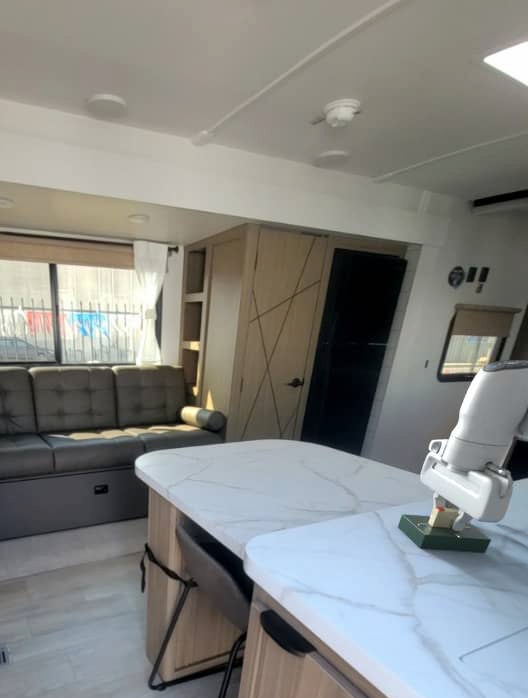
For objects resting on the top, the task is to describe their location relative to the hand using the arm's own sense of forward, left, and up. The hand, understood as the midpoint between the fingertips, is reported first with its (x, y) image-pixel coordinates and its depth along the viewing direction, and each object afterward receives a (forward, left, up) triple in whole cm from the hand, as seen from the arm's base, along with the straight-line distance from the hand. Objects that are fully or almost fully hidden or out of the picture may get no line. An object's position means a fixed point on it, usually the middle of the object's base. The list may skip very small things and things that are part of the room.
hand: (446, 522), depth 80 cm
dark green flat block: (0, 0, -4) cm, 4 cm away
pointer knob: (0, 0, -1) cm, 1 cm away
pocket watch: (-8, -10, -4) cm, 14 cm away
